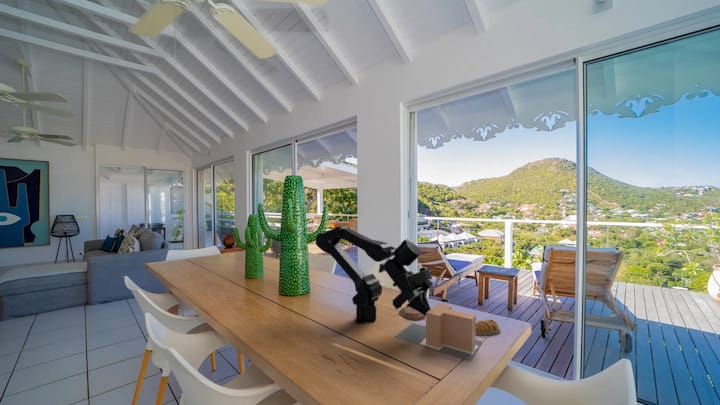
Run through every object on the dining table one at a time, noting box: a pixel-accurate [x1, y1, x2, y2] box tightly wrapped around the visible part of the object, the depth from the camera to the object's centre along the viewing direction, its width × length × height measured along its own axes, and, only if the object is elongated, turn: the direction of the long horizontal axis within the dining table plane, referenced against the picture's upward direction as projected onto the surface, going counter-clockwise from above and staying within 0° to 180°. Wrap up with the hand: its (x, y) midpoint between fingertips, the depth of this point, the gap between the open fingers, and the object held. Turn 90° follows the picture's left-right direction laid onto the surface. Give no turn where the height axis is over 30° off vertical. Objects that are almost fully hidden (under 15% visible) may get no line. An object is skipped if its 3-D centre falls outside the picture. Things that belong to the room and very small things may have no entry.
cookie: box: [398, 306, 426, 322], centre depth 106 cm, size 10×11×3 cm
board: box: [394, 322, 484, 362], centre depth 87 cm, size 22×13×1 cm, turn 54°
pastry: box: [476, 318, 501, 336], centre depth 93 cm, size 9×7×4 cm
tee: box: [425, 303, 477, 352], centre depth 84 cm, size 12×10×9 cm
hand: (431, 316), depth 88 cm, fingers closed, pressing on tee
